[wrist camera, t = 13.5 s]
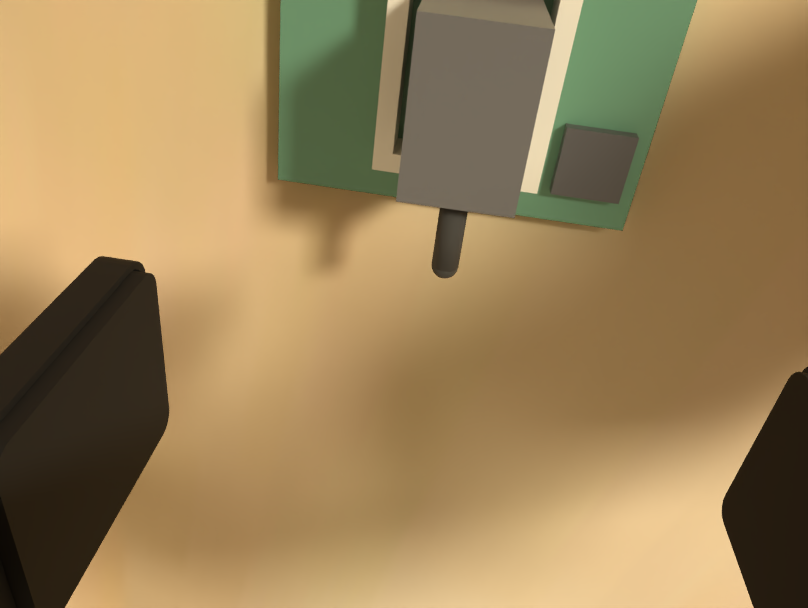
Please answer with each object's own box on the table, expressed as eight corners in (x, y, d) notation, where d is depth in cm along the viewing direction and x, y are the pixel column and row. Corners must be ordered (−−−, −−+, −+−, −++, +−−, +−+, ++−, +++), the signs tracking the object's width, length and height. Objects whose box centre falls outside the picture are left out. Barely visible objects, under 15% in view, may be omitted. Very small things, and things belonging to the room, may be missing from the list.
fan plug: (537, -14, 26) (555, 29, 20) (493, 210, 32) (495, 305, 25) (434, -27, 26) (416, 10, 20) (407, 198, 32) (386, 289, 25)
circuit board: (718, -98, 25) (746, -93, 23) (618, 219, 32) (630, 251, 30) (290, -157, 26) (267, -159, 23) (284, 169, 33) (266, 197, 30)
